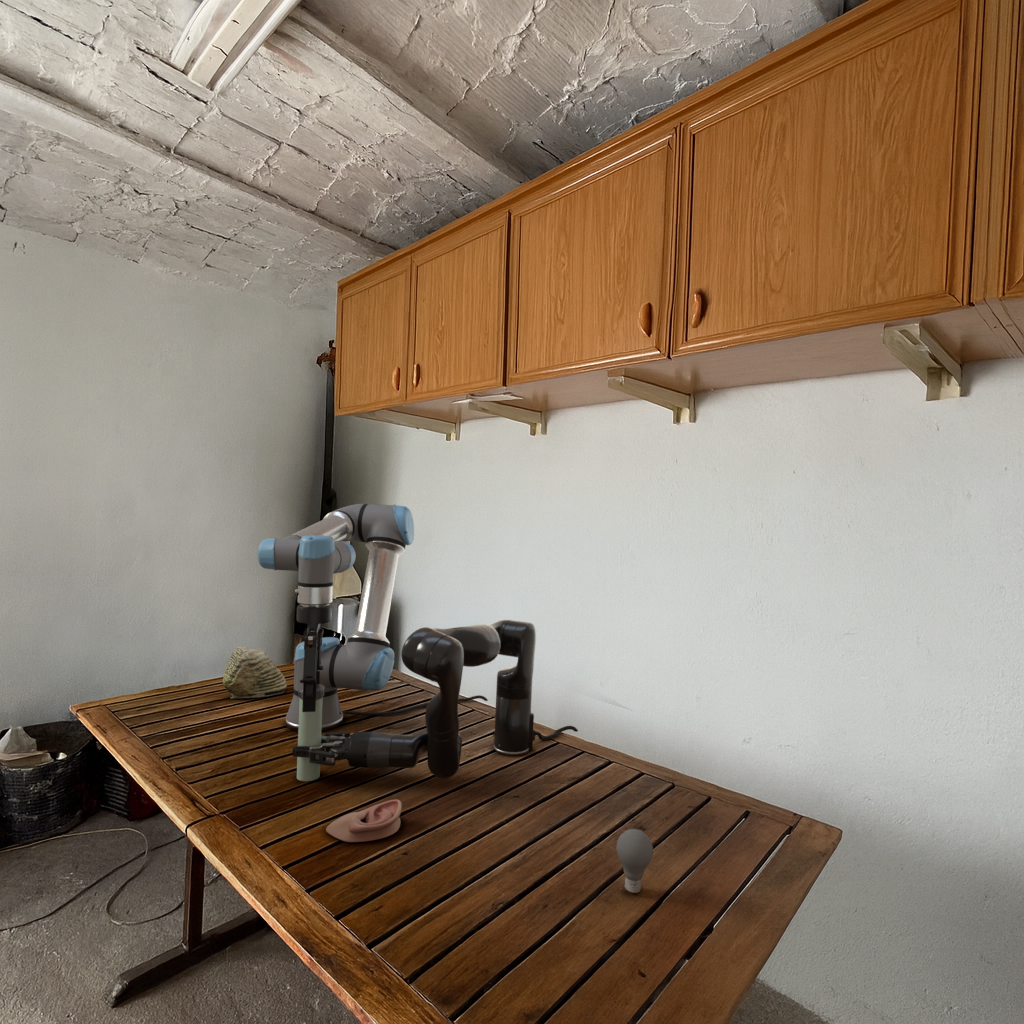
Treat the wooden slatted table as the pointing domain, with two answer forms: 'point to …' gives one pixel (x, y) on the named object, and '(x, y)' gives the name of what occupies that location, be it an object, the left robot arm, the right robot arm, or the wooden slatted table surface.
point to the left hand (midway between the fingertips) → (310, 705)
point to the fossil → (252, 674)
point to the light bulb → (634, 857)
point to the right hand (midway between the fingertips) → (297, 746)
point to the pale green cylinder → (309, 740)
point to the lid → (319, 691)
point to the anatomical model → (368, 823)
